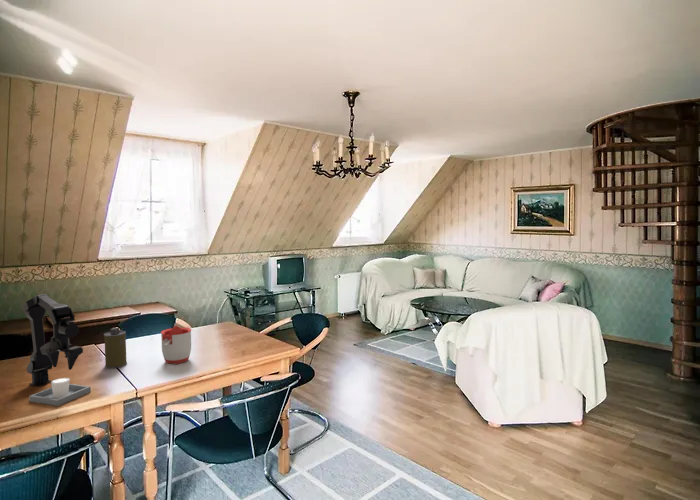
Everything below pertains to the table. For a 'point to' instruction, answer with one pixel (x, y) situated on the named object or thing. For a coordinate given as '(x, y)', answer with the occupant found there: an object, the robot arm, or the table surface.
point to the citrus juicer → (176, 344)
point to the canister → (115, 348)
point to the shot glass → (60, 387)
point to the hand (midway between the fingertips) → (62, 368)
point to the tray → (48, 399)
